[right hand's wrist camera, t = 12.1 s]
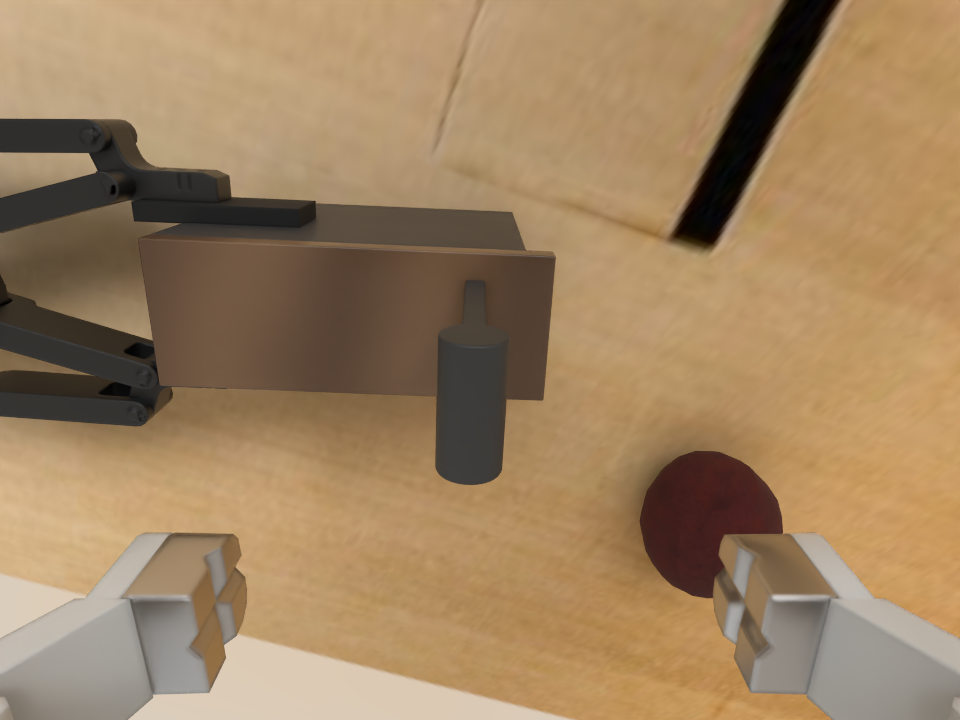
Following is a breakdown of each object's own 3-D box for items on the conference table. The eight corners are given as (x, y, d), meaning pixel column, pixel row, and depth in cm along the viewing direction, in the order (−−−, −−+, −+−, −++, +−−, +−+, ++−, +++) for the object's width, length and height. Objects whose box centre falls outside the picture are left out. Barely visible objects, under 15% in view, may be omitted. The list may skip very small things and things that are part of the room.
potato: (632, 548, 39) (663, 634, 32) (622, 438, 36) (654, 508, 30) (752, 532, 39) (808, 617, 32) (751, 420, 36) (812, 487, 29)
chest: (512, 212, 32) (526, 249, 23) (506, 315, 34) (516, 390, 25) (247, 200, 32) (150, 233, 22) (256, 305, 34) (170, 377, 24)
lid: (553, 251, 23) (591, 318, 15) (541, 392, 24) (569, 515, 17) (149, 234, 22) (-24, 293, 15) (169, 377, 24) (27, 496, 17)
